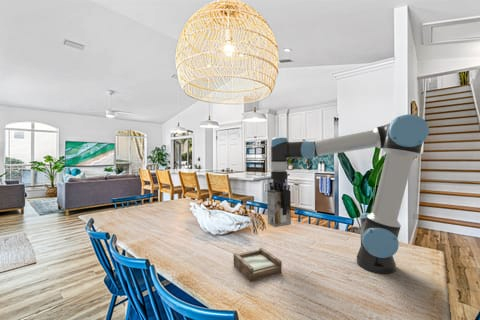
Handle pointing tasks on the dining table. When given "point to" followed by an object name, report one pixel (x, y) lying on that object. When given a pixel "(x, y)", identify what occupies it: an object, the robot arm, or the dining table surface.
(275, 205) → the coffee box
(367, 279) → the dining table surface
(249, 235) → the dining table surface
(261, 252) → the wooden tray
